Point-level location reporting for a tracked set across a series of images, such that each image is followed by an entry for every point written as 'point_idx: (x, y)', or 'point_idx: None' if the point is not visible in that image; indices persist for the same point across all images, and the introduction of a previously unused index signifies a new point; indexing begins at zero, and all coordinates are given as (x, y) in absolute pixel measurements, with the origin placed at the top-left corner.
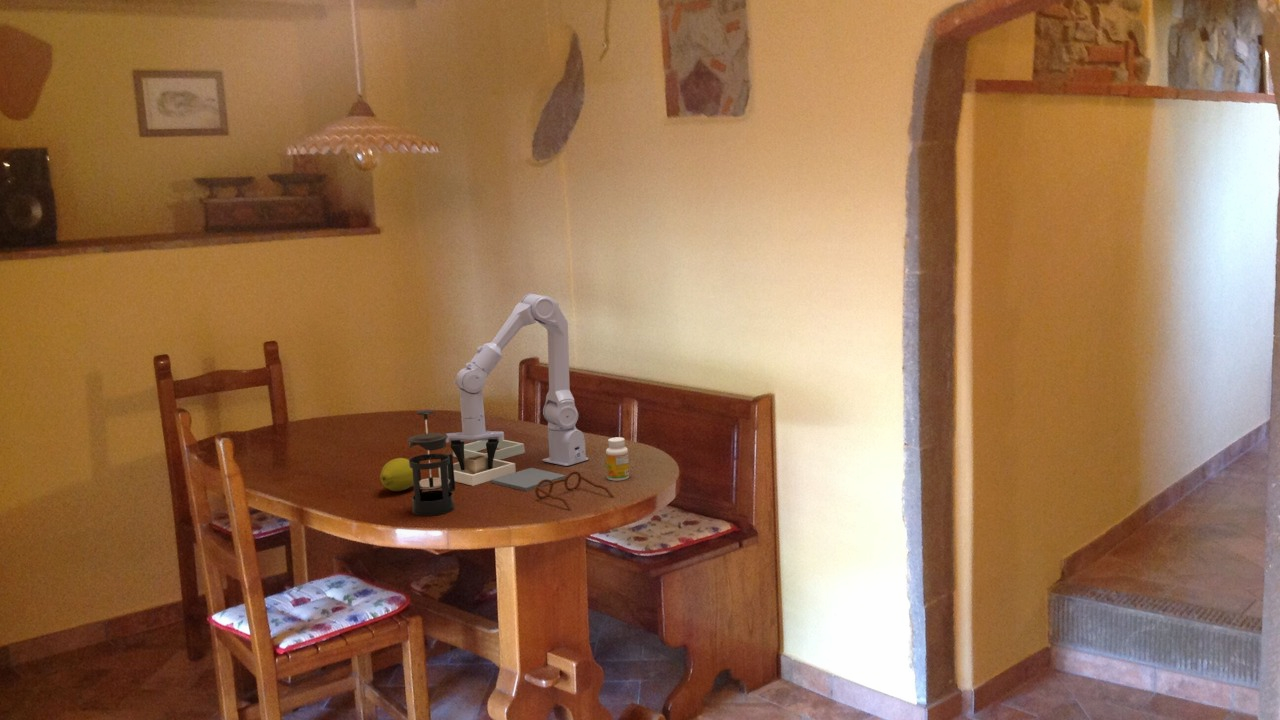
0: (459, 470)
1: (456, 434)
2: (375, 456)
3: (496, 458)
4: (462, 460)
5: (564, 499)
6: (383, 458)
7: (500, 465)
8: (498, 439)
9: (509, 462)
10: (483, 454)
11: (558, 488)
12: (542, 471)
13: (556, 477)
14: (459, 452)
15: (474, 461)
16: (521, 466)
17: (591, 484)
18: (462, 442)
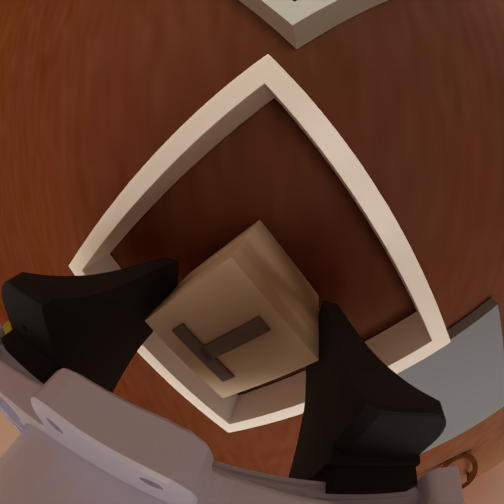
0: (154, 200)
1: (8, 413)
2: (7, 5)
3: (364, 6)
4: (146, 327)
5: None
6: (10, 14)
7: (391, 259)
8: (400, 492)
9: (437, 314)
10: (285, 18)
11: (442, 452)
12: (494, 364)
13: (479, 419)
14: (111, 378)
15: (222, 394)
16: (484, 197)
17: (470, 473)
18: (69, 361)
